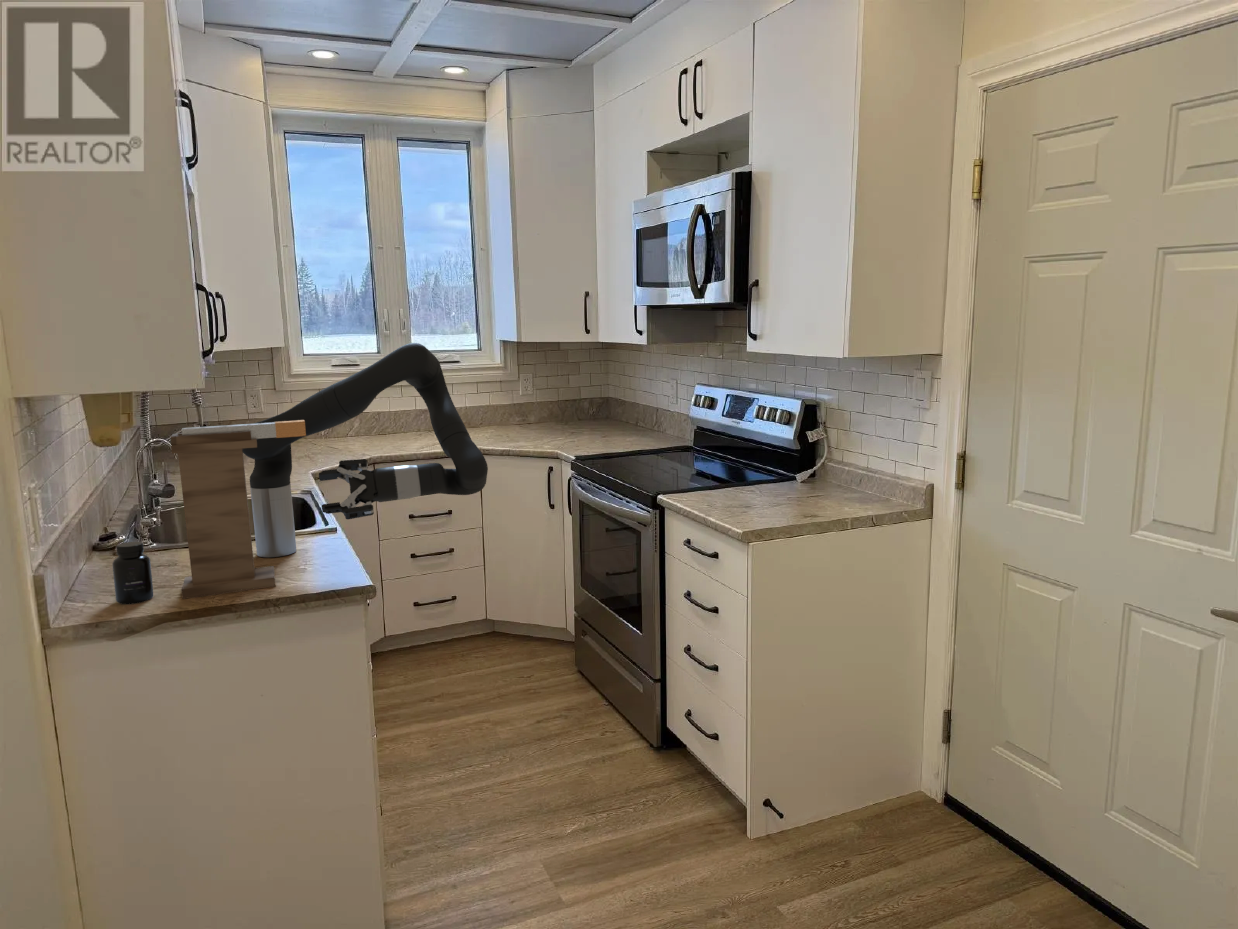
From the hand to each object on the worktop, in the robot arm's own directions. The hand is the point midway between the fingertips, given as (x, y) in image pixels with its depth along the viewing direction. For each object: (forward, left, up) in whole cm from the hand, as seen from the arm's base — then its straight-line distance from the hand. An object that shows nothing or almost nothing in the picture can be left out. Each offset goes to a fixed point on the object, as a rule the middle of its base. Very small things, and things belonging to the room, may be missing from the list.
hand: (320, 492), depth 179 cm
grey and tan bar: (-7, -14, +12) cm, 19 cm away
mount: (-7, -20, -20) cm, 29 cm away
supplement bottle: (-6, -38, -20) cm, 43 cm away
